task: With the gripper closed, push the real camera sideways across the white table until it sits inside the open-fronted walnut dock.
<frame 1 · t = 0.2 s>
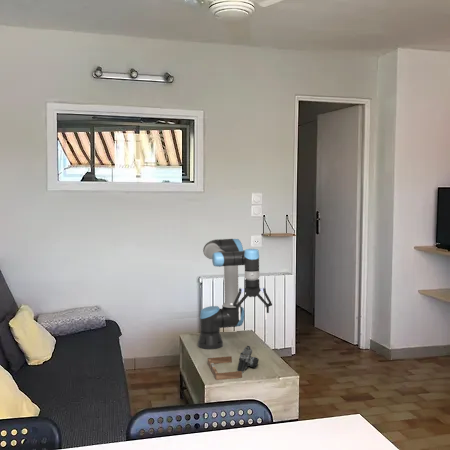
hand: (252, 319, 270), 27 cm above the table, fingers open, 13 cm apart
camera: (248, 368, 276), on the table
dock: (225, 370, 273), on the table
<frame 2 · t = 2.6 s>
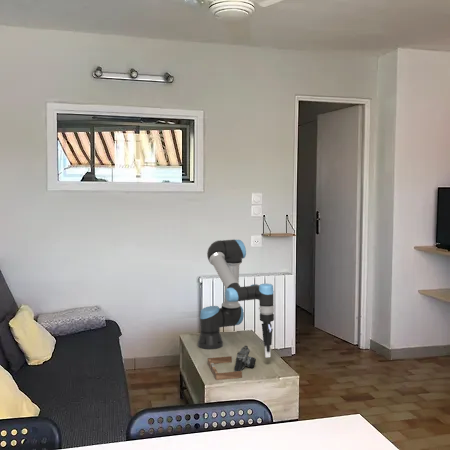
hand: (267, 356, 277), 5 cm above the table, fingers closed
camera: (245, 368, 276), on the table
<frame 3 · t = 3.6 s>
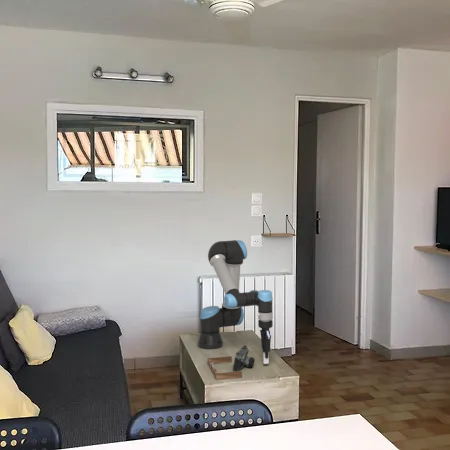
hand: (265, 363, 278), 2 cm above the table, fingers closed
nothing on the table moved.
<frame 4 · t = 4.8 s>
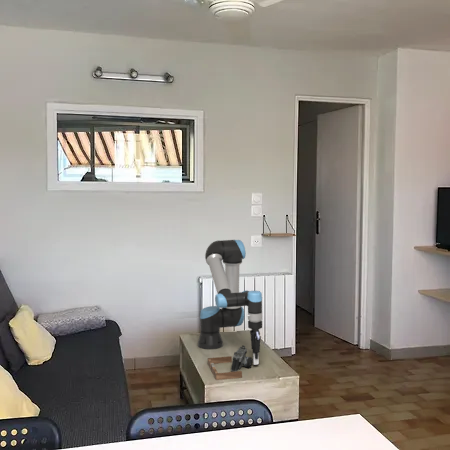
hand: (255, 364, 276), 2 cm above the table, fingers closed
camera: (243, 368, 277), on the table, touching gripper
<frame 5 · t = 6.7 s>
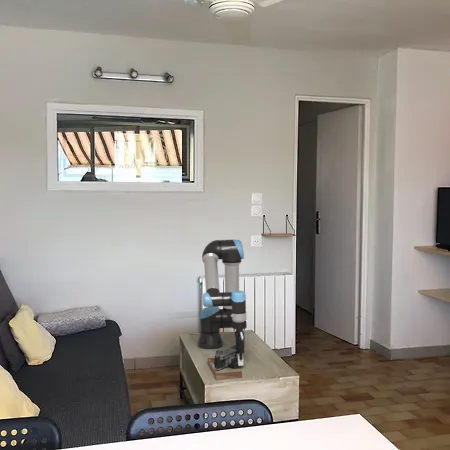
hand: (240, 365, 274), 2 cm above the table, fingers closed
camera: (229, 367, 277), on the table, touching dock, gripper
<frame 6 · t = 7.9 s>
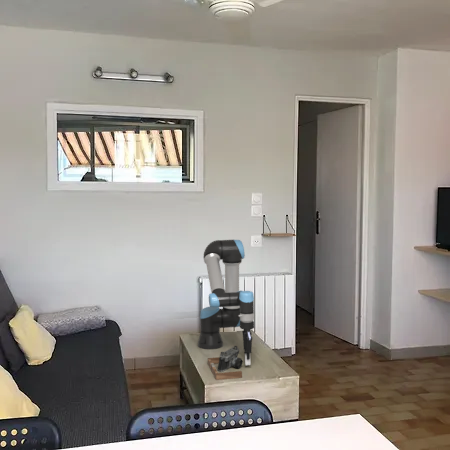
hand: (247, 364, 275), 2 cm above the table, fingers closed
camera: (232, 368, 277), on the table, touching dock
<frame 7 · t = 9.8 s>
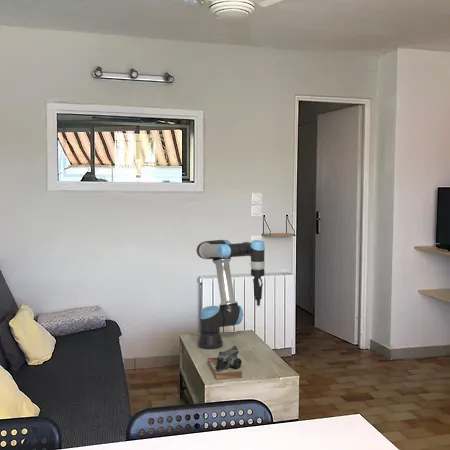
hand: (257, 310, 289), 27 cm above the table, fingers closed
camera: (231, 368, 277), on the table
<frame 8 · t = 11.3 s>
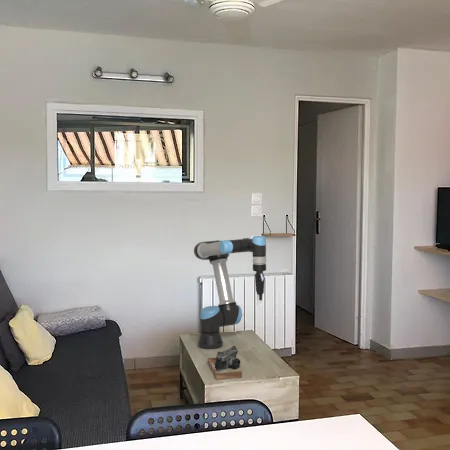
hand: (260, 305, 293), 29 cm above the table, fingers closed
nothing on the table moved.
at the end: camera inside the target area on the dock (3.6 cm from its centre), point 0.0 cm above the dock's base; camera tilted 0°; camera moved 10.4 cm from its start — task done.
